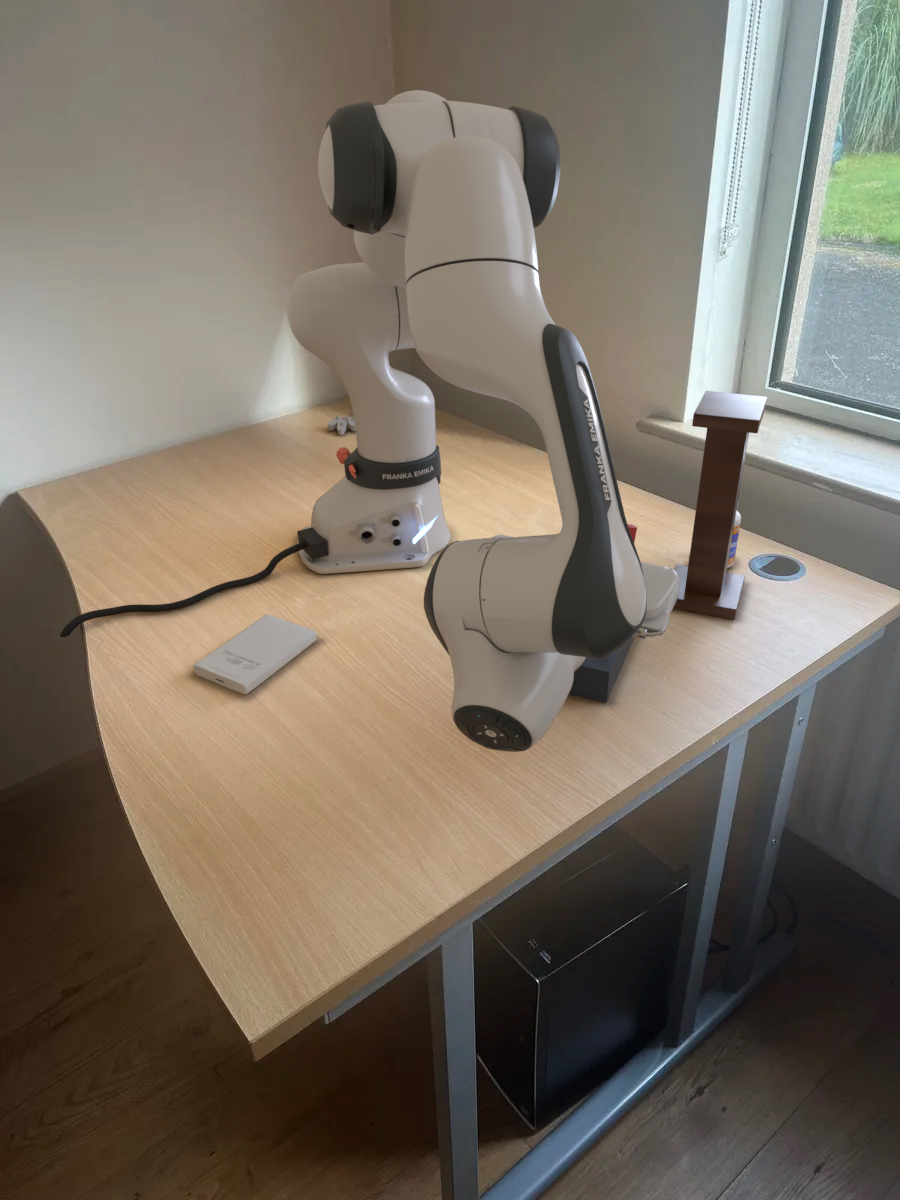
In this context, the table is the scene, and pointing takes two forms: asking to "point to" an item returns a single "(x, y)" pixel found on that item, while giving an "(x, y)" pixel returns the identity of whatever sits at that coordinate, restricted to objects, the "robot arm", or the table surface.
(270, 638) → the hard drive
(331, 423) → the game controller
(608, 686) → the bin
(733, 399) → the stand
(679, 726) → the table surface
